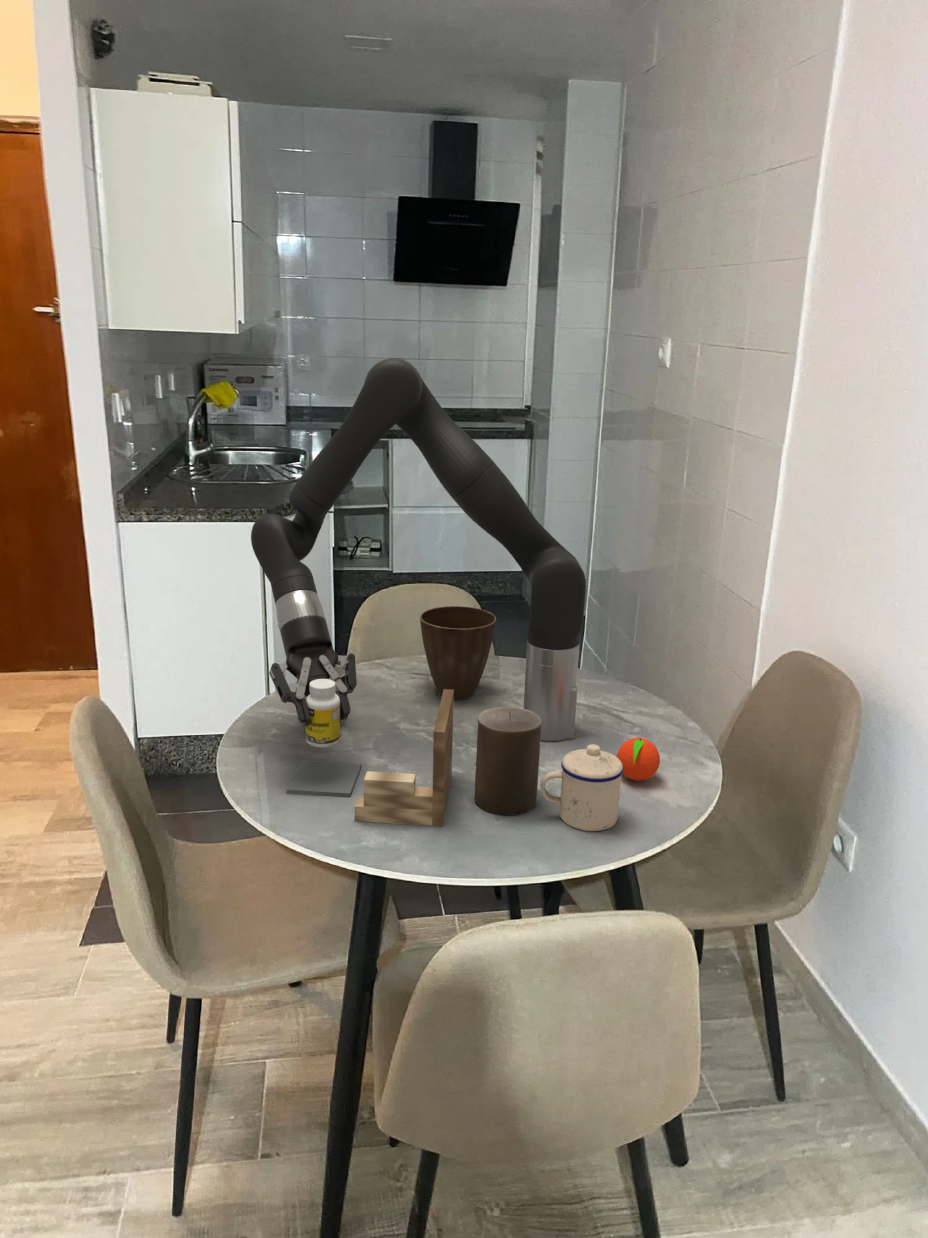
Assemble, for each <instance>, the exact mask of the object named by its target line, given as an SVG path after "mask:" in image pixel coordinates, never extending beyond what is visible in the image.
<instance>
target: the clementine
mask: <svg viewBox="0 0 928 1238" xmlns="http://www.w3.org/2000/svg"><path fill="white" fill-rule="evenodd" d="M616 757H617V758H618V759H619V760H620V761H621V763H622V765H623V773H622V775H624V776H625V777H626V778H628V779H630V780H632V781H635V782H636V781H637V782H642V781H645V780H649V779H651V778H652V777H653V776H654V775H655V774H656V773H657V771H658V769H659V767H660V763H661V756H660V752H659V750H658V748H657V747H656V745H655V744H654V743H653V742H651V741H650V740H649V739H646V738H643V737H633V738H630V739H628V740H626V741H625V742H623V743H622V744H621V746H620V747H619V749H618V750H617V754H616Z"/></svg>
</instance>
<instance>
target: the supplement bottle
mask: <svg viewBox="0 0 928 1238" xmlns="http://www.w3.org/2000/svg"><path fill="white" fill-rule="evenodd" d="M309 686H310V688H309V691H310V695H308V696H307V698H306V702H307V706H308V710H309V714H310V718H311V722H310V724H309V725H308V726H305V740H306V742H307V744H309V746H310V745H311V746H313V747H318V748H329V747H332V746H335V745H336V744H338V743H339V742H340V740H341V725H340V698H339V696H338V695H337V694H335V690H336V686H335V682H334V681H333V680H330V679H316V680H313V681H311V682H310V684H309Z"/></svg>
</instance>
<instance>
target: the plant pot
mask: <svg viewBox="0 0 928 1238" xmlns="http://www.w3.org/2000/svg"><path fill="white" fill-rule="evenodd" d="M496 621H497V617H496V615H495V614H493V613H492V612H490V611H488V610H485V609H481V608H477V607H471V606H461V605H460V606H457V605H456V606H454V605H453V606H452V605H450V606H448V605H447V606H440V607H433V608H430V609H426V610H424V611H422V612H421V613H420V614H419V623H420V630H421V631H420V632H421V638H422V644H423V648H424V653H425V658H426V662H427V666H428V669H429V672H430V675H431V678H432V681H433V685H434V687H435V690H436V693H437V694H438V696H440V698H442V695H443V690H444V689H451V690H454V701H456V700H457V701H458V700H466V699H470V698H471V697H473V696H474V695H475V693H476V691H477V689H478V686H479V685H480V684H479V683H480V682H481V679H482V677H483V674H484V670H485V667H486V664H487V662H488V658H489V655H490V652H491V648H492V647H491V646H492V643H493V639H494V633H495V627H496Z"/></svg>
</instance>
